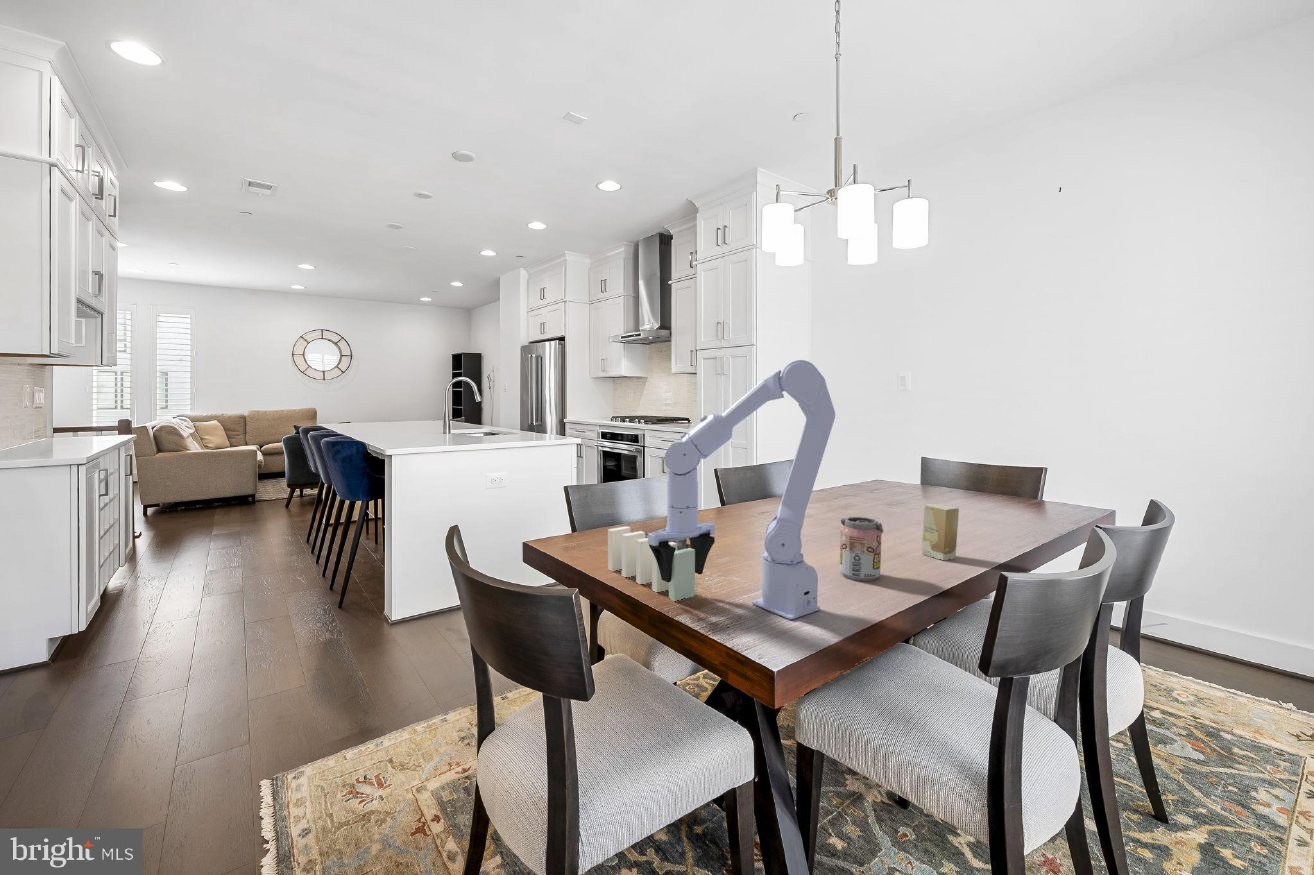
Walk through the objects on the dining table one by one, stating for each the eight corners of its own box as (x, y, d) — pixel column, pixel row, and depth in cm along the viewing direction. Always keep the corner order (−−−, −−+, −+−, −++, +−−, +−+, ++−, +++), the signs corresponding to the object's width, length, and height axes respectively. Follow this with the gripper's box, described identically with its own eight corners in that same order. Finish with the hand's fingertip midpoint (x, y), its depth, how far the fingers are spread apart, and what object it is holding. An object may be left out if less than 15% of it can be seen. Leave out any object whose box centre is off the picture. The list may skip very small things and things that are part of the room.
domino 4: (677, 588, 111) (677, 543, 110) (656, 593, 108) (656, 547, 107) (672, 585, 112) (672, 541, 112) (651, 591, 109) (651, 545, 109)
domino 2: (645, 573, 120) (645, 532, 119) (625, 578, 117) (625, 536, 116) (641, 572, 121) (640, 531, 120) (621, 576, 118) (621, 534, 117)
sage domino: (694, 596, 107) (694, 549, 106) (674, 601, 104) (674, 554, 103) (689, 593, 108) (689, 547, 107) (668, 599, 105) (668, 552, 104)
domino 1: (630, 567, 124) (630, 527, 124) (612, 571, 121) (611, 530, 121) (626, 565, 126) (626, 526, 125) (608, 569, 122) (607, 529, 122)
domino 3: (660, 580, 115) (660, 537, 115) (640, 585, 112) (640, 541, 112) (656, 578, 117) (656, 536, 116) (636, 583, 114) (636, 539, 113)
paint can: (845, 566, 125) (846, 513, 124) (885, 572, 121) (887, 517, 120) (834, 577, 117) (835, 521, 116) (876, 584, 113) (878, 526, 112)
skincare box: (920, 554, 135) (922, 504, 134) (933, 552, 136) (935, 502, 135) (944, 561, 129) (946, 509, 128) (957, 559, 131) (959, 507, 130)
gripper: (698, 498, 112) (697, 564, 113) (638, 506, 103) (638, 578, 104) (722, 503, 106) (721, 573, 107) (661, 513, 98) (661, 589, 99)
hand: (682, 576), depth 105 cm, fingers open, 7 cm apart
